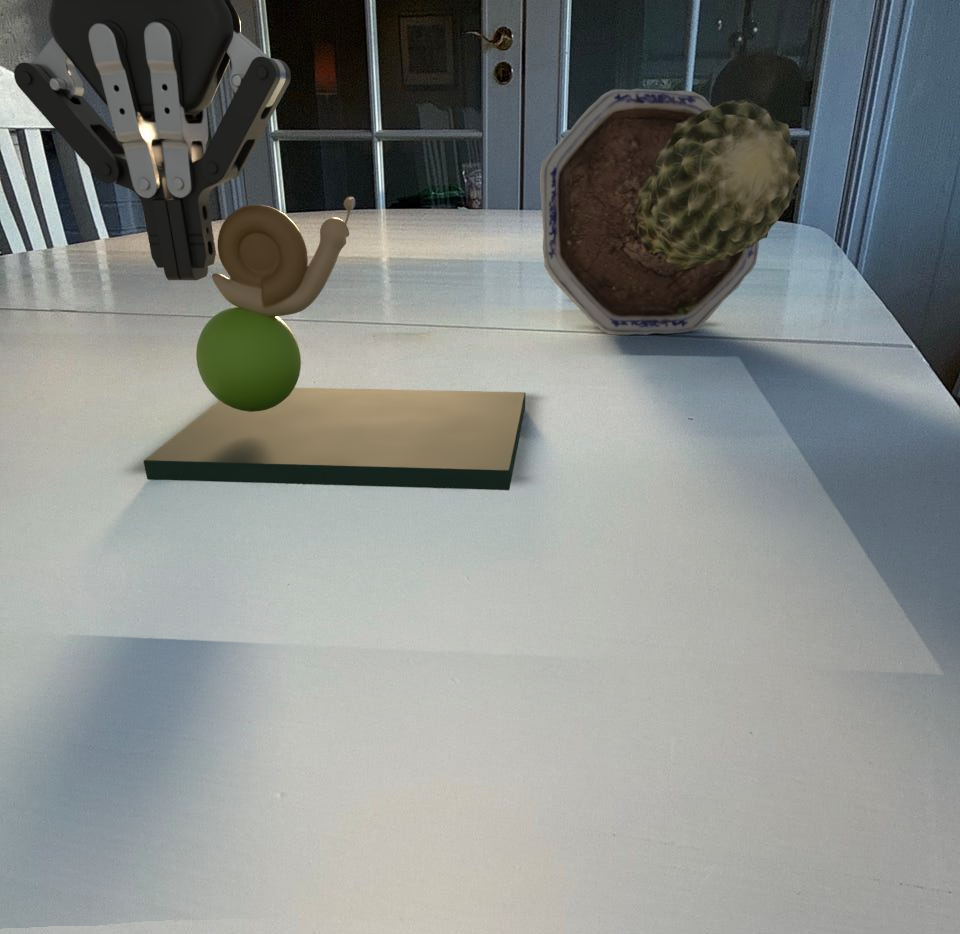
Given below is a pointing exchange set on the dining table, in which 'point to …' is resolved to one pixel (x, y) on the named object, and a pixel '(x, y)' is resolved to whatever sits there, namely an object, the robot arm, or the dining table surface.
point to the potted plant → (662, 206)
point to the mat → (353, 440)
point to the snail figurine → (263, 304)
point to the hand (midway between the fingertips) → (187, 277)
